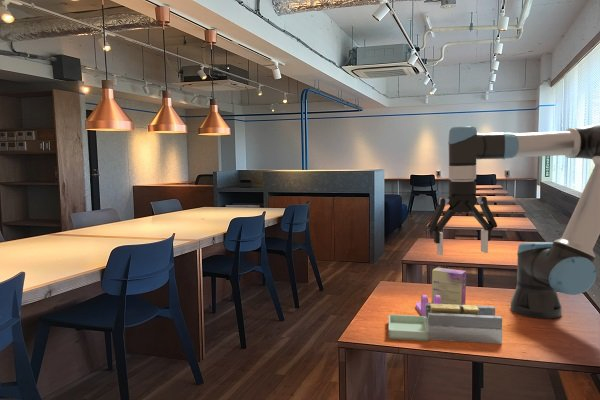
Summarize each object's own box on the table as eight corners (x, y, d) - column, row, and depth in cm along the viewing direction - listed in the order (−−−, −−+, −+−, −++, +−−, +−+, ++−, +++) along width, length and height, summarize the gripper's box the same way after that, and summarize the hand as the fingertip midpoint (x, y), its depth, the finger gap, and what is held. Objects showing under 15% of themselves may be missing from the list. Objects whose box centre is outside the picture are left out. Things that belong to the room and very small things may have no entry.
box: (465, 303, 169) (466, 270, 168) (461, 308, 165) (462, 273, 164) (436, 299, 175) (436, 266, 174) (431, 303, 170) (431, 270, 169)
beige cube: (476, 319, 141) (476, 305, 141) (478, 323, 137) (478, 309, 137) (461, 318, 142) (462, 305, 142) (463, 322, 138) (464, 309, 138)
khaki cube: (444, 317, 143) (444, 304, 142) (445, 322, 139) (445, 308, 139) (430, 316, 144) (430, 303, 143) (431, 321, 140) (431, 307, 139)
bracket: (441, 318, 155) (441, 296, 154) (423, 318, 155) (423, 296, 154) (430, 305, 168) (430, 285, 167) (414, 305, 168) (414, 286, 167)
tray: (425, 324, 149) (425, 316, 149) (428, 341, 135) (428, 332, 135) (388, 322, 151) (388, 314, 151) (388, 338, 137) (388, 330, 137)
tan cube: (458, 318, 142) (458, 304, 142) (460, 322, 138) (460, 309, 138) (444, 317, 143) (444, 304, 142) (445, 322, 139) (445, 308, 139)
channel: (492, 328, 144) (493, 305, 144) (502, 343, 133) (502, 318, 132) (425, 325, 148) (425, 302, 147) (428, 339, 136) (428, 315, 136)
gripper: (496, 178, 145) (495, 248, 147) (415, 181, 142) (416, 252, 144) (510, 179, 138) (509, 253, 140) (425, 182, 135) (425, 257, 137)
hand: (462, 253), depth 142 cm, fingers open, 13 cm apart
